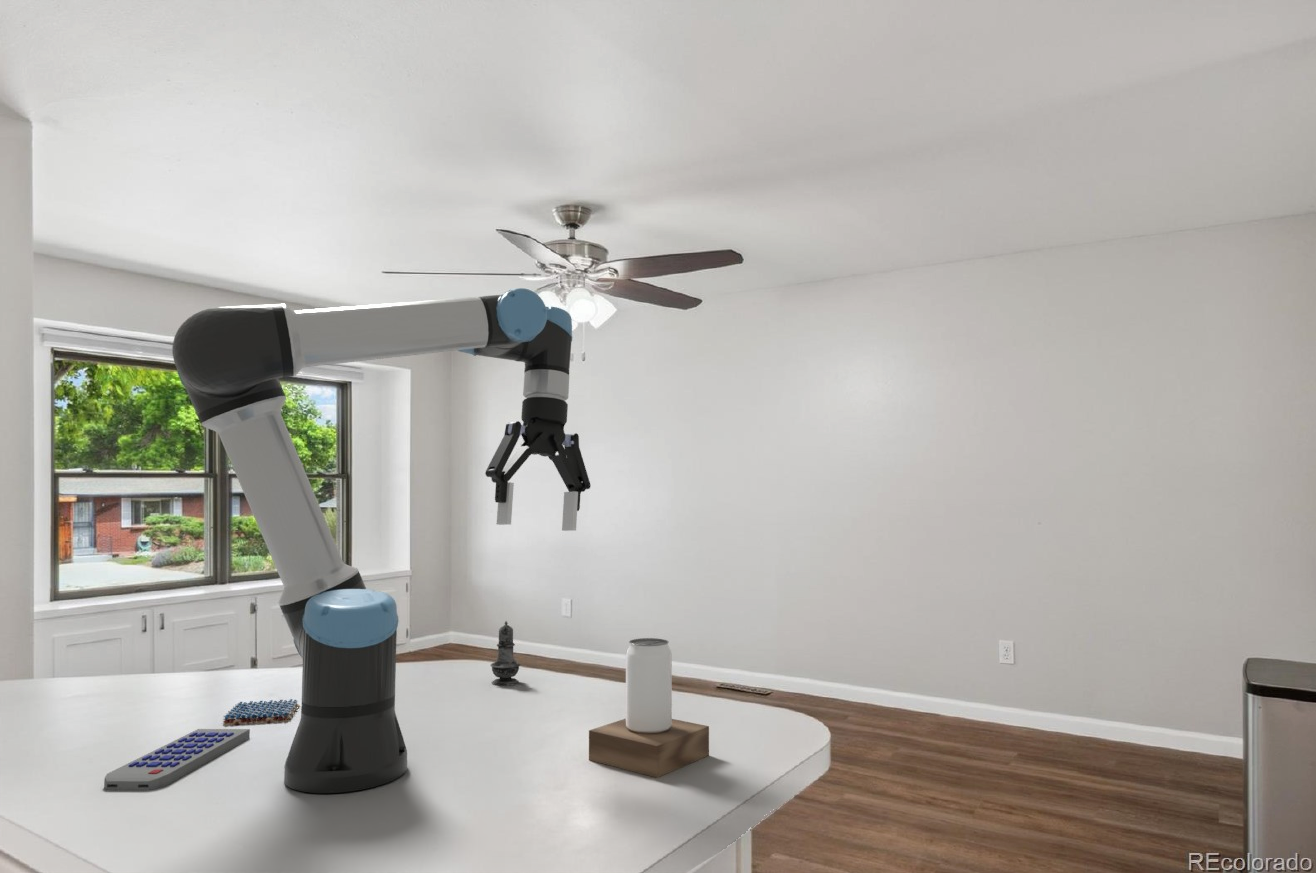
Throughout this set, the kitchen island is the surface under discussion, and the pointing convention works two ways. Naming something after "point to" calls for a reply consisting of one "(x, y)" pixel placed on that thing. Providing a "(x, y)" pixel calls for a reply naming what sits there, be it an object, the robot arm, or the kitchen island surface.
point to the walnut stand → (649, 747)
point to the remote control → (174, 759)
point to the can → (648, 686)
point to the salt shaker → (505, 659)
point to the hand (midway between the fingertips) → (537, 527)
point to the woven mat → (261, 712)
